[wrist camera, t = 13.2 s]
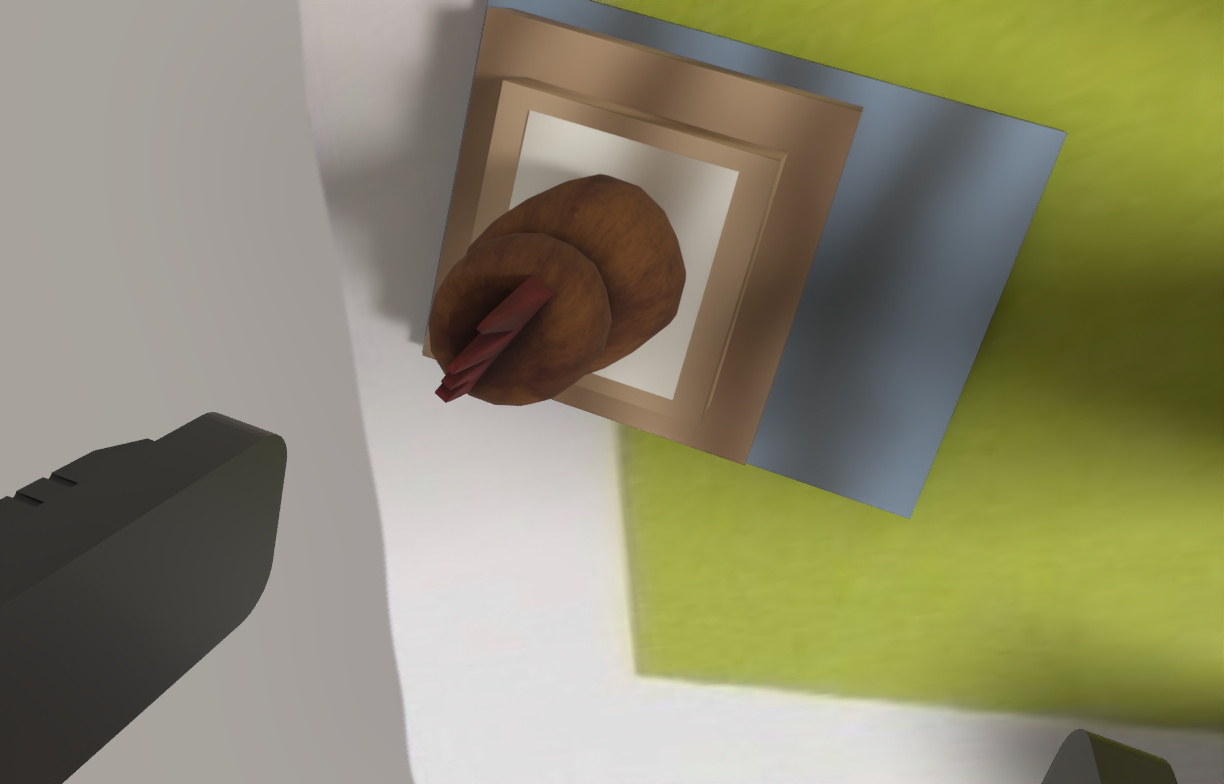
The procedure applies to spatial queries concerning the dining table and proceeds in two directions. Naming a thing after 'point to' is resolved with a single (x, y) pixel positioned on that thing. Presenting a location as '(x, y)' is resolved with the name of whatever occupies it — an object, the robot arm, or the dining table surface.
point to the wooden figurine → (556, 292)
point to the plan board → (881, 268)
